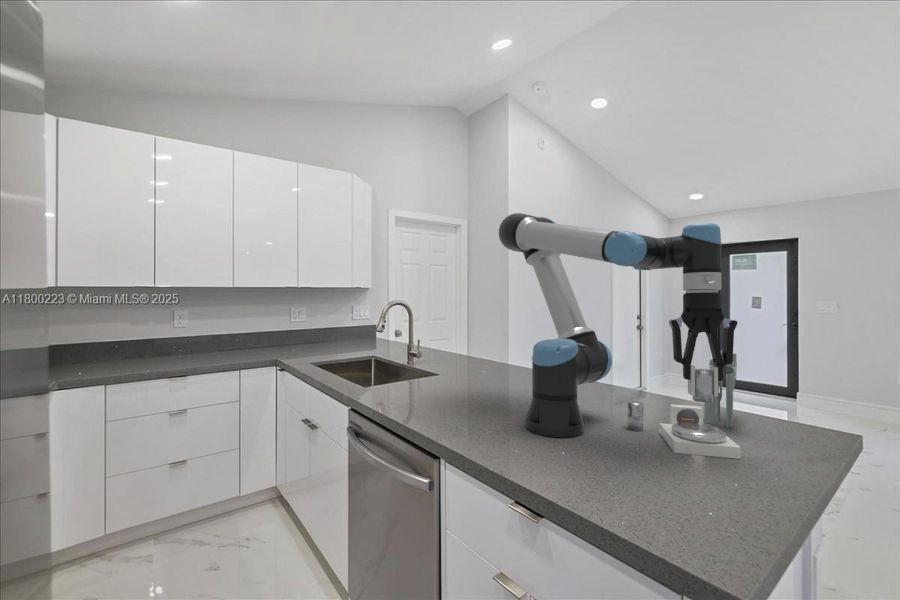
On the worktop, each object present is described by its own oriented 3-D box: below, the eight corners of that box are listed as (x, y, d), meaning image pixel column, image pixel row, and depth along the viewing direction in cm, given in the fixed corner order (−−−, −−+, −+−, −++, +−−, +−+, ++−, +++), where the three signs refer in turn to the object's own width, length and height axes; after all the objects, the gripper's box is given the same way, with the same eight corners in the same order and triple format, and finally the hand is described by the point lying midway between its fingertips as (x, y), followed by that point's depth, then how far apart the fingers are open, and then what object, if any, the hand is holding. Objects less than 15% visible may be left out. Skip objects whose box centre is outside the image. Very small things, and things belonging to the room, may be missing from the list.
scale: (674, 452, 92) (674, 421, 91) (657, 429, 107) (657, 403, 107) (740, 459, 88) (741, 427, 88) (712, 434, 104) (713, 407, 104)
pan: (678, 440, 92) (679, 435, 92) (666, 425, 102) (666, 421, 102) (734, 445, 89) (734, 440, 89) (715, 429, 100) (715, 425, 100)
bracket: (733, 439, 101) (734, 359, 101) (699, 433, 105) (700, 356, 105) (736, 414, 123) (737, 348, 123) (709, 410, 127) (709, 346, 127)
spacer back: (628, 430, 107) (628, 403, 107) (625, 425, 111) (626, 400, 111) (644, 431, 106) (645, 405, 106) (641, 427, 110) (642, 401, 110)
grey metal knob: (690, 398, 95) (690, 368, 95) (709, 399, 94) (709, 369, 94) (695, 402, 91) (695, 371, 91) (716, 403, 90) (715, 371, 90)
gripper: (664, 292, 91) (665, 395, 91) (752, 291, 87) (753, 400, 86) (657, 292, 98) (658, 389, 98) (737, 292, 94) (738, 393, 94)
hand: (702, 394), depth 92 cm, fingers closed on grey metal knob, 4 cm apart
